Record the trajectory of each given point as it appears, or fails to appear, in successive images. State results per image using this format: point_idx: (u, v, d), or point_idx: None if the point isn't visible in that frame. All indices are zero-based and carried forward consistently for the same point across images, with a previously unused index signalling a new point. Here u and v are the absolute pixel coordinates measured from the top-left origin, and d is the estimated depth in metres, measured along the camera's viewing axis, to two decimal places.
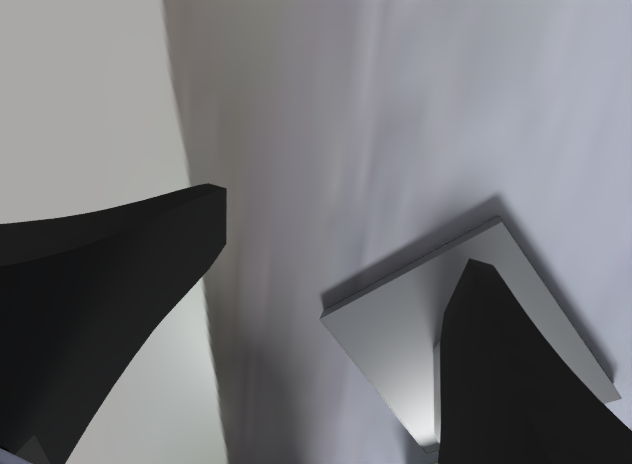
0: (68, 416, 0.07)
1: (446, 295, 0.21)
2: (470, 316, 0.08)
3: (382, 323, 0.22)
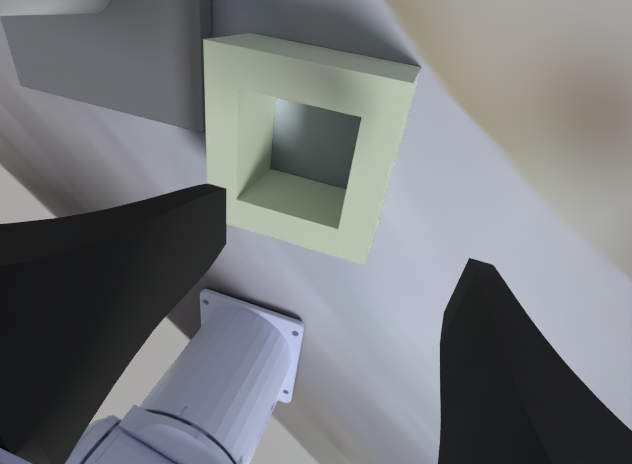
0: (68, 416, 0.07)
1: None
2: (471, 316, 0.08)
3: (33, 28, 0.20)
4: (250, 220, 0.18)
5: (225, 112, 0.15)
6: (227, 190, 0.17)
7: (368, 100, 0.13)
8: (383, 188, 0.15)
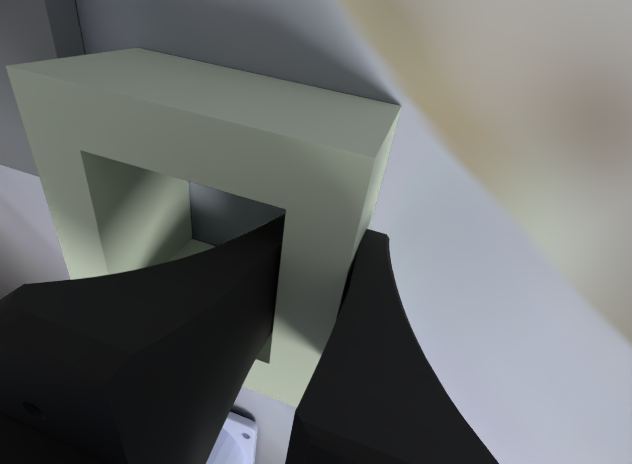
0: None
1: None
2: (350, 278, 0.09)
3: None
4: None
5: (70, 185, 0.09)
6: None
7: (295, 182, 0.07)
8: (333, 319, 0.09)
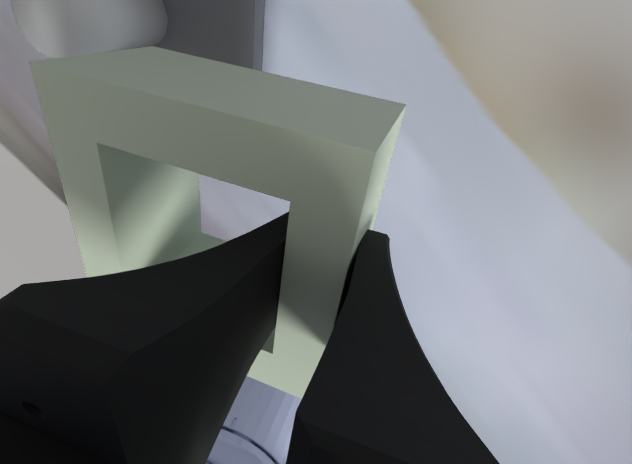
0: None
1: None
2: None
3: None
4: None
5: (86, 176, 0.10)
6: None
7: (299, 175, 0.07)
8: (335, 310, 0.09)
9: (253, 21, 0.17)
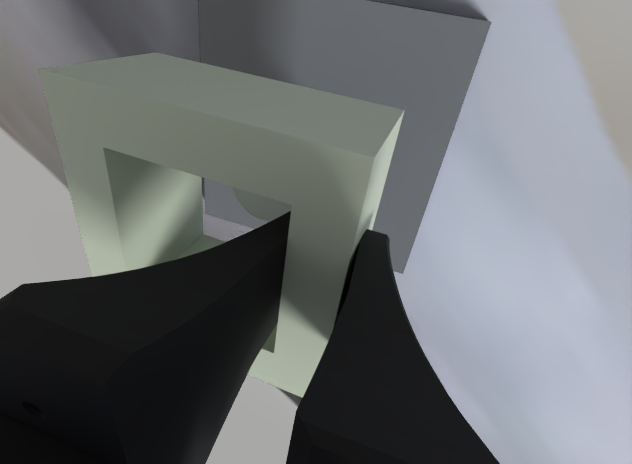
0: None
1: None
2: (351, 278, 0.09)
3: None
4: None
5: (92, 179, 0.10)
6: None
7: (300, 179, 0.08)
8: (335, 310, 0.09)
9: (439, 160, 0.17)
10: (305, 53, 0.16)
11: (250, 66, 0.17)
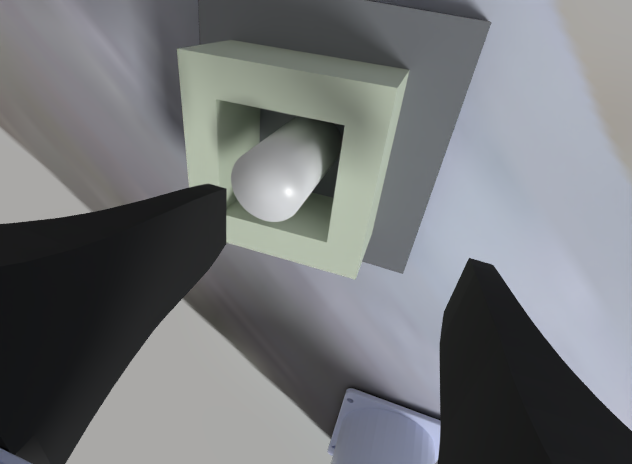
0: (68, 416, 0.07)
1: None
2: (470, 316, 0.08)
3: None
4: (236, 234, 0.17)
5: (204, 124, 0.15)
6: None
7: (351, 107, 0.13)
8: (371, 199, 0.14)
9: (439, 160, 0.17)
10: None
11: None
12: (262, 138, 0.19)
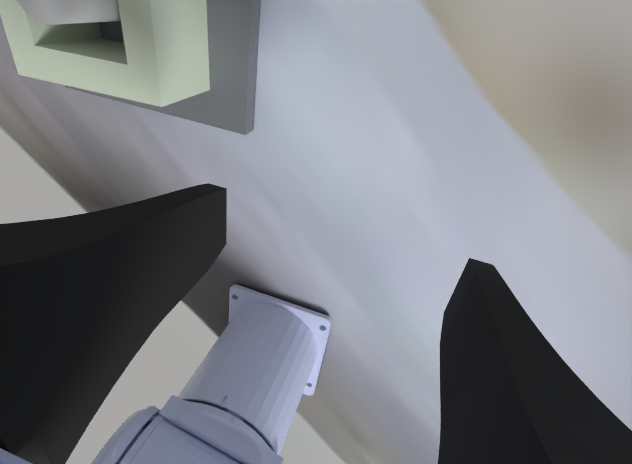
0: (68, 416, 0.07)
1: None
2: (470, 316, 0.08)
3: None
4: (53, 69, 0.17)
5: None
6: (23, 35, 0.17)
7: None
8: (148, 2, 0.14)
9: None
10: None
11: None
12: None
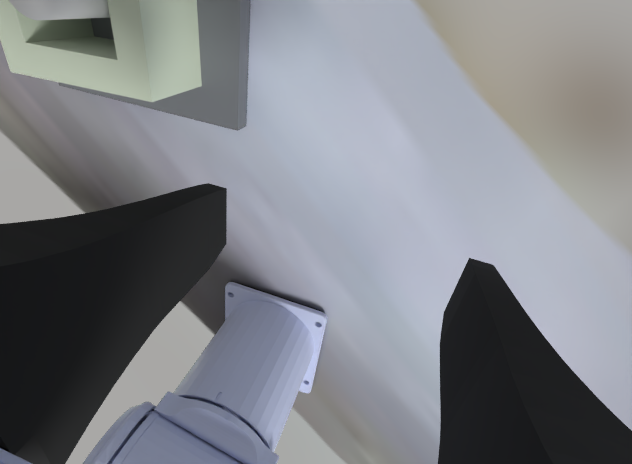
0: (68, 416, 0.07)
1: None
2: (471, 316, 0.08)
3: None
4: (44, 66, 0.17)
5: None
6: (14, 32, 0.17)
7: None
8: None
9: None
10: None
11: None
12: None
